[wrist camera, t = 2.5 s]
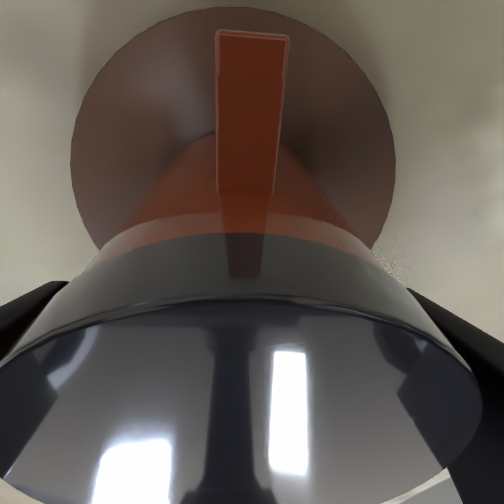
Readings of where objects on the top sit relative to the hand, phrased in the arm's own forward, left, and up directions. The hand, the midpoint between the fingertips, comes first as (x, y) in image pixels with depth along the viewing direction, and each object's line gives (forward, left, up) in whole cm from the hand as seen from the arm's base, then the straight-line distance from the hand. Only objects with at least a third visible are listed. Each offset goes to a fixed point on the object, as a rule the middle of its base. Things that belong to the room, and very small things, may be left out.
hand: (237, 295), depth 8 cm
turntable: (0, 0, -6) cm, 6 cm away
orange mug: (+1, -1, -5) cm, 5 cm away
